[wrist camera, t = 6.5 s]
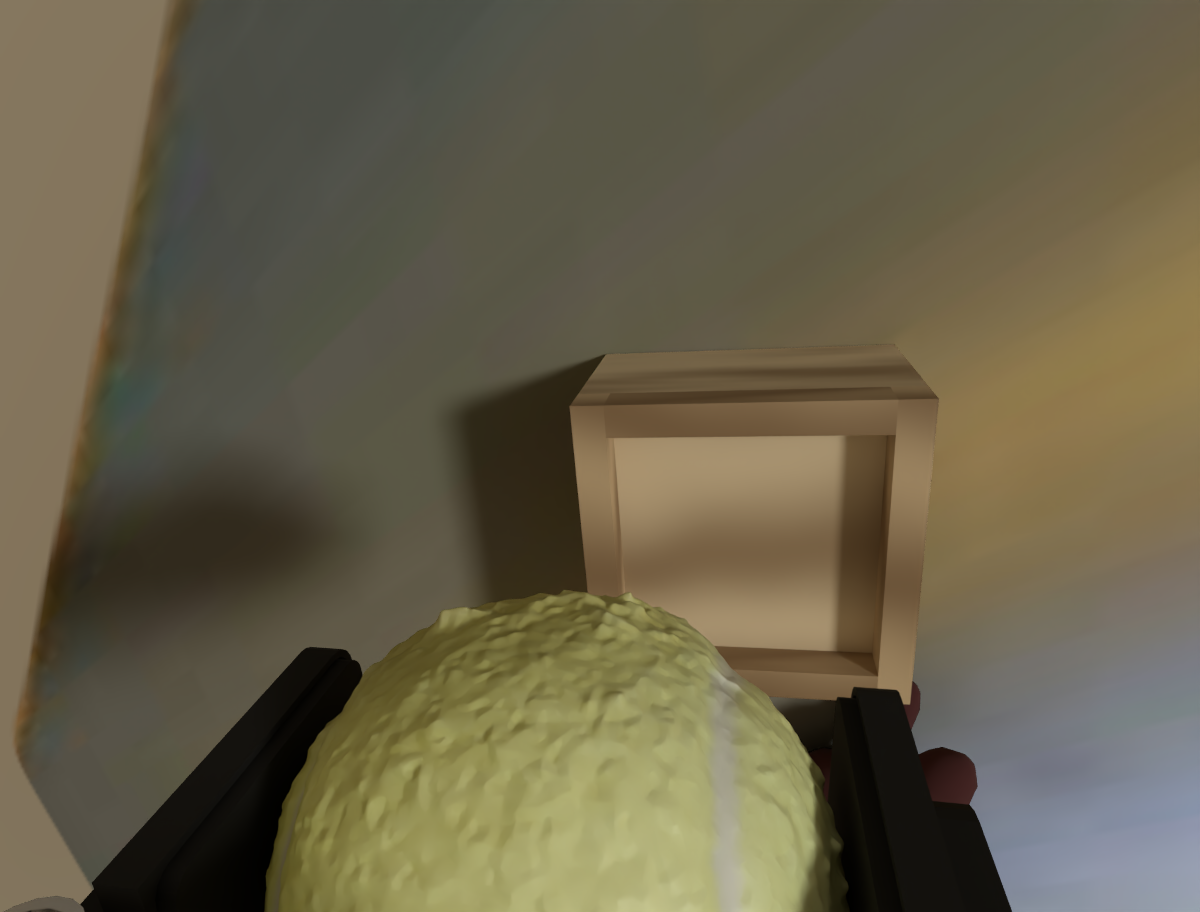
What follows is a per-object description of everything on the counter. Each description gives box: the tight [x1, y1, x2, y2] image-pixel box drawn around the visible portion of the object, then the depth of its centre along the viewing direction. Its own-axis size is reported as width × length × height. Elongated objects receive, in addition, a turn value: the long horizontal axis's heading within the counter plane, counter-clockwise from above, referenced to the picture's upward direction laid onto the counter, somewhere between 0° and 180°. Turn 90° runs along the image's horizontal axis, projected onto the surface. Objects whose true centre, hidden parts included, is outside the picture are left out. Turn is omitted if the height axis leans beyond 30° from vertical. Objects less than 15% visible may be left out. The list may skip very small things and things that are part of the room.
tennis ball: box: [264, 590, 850, 912], centre depth 9 cm, size 6×7×7 cm
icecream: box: [808, 681, 978, 804], centre depth 30 cm, size 7×7×15 cm
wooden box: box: [570, 344, 939, 705], centre depth 25 cm, size 10×10×6 cm
